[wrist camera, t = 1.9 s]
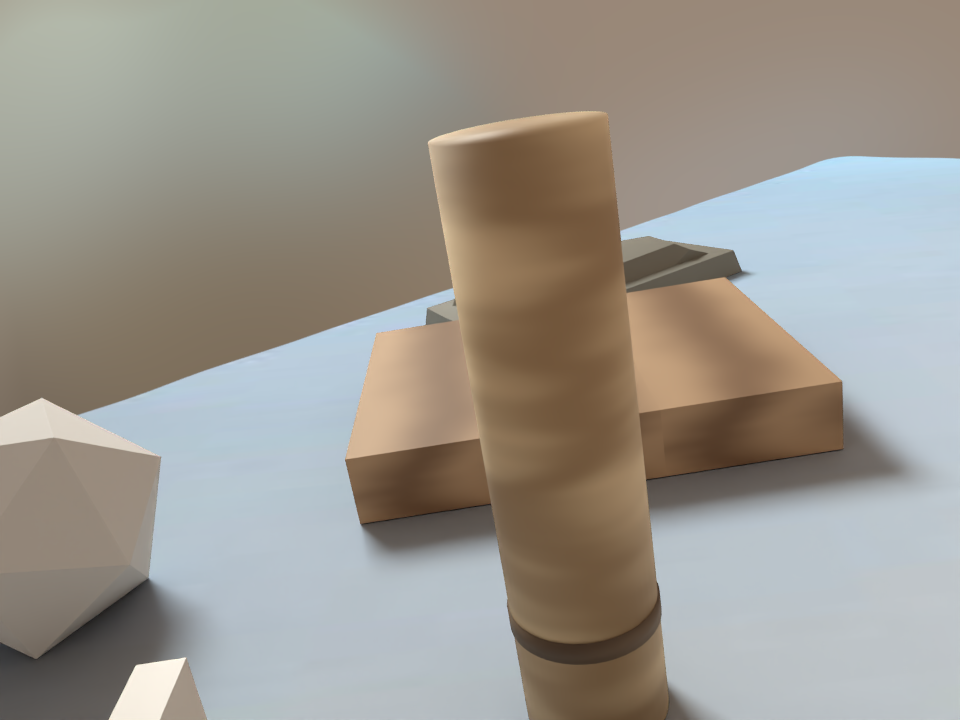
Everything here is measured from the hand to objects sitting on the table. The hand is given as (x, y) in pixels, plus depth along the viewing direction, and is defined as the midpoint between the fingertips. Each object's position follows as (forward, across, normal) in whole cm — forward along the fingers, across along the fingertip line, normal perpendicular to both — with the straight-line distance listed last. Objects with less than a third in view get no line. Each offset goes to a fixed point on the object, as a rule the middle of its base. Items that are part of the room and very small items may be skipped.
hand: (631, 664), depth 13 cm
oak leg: (+9, 0, -9) cm, 13 cm away
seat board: (+29, +2, -9) cm, 31 cm away
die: (+18, -19, -9) cm, 28 cm away
